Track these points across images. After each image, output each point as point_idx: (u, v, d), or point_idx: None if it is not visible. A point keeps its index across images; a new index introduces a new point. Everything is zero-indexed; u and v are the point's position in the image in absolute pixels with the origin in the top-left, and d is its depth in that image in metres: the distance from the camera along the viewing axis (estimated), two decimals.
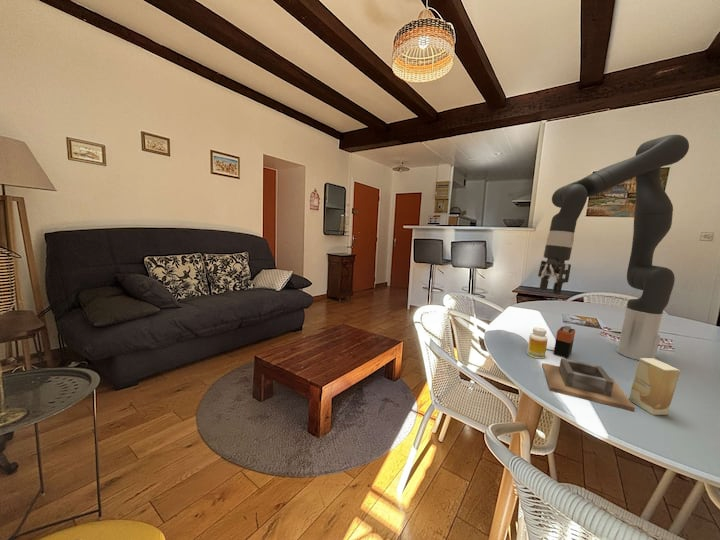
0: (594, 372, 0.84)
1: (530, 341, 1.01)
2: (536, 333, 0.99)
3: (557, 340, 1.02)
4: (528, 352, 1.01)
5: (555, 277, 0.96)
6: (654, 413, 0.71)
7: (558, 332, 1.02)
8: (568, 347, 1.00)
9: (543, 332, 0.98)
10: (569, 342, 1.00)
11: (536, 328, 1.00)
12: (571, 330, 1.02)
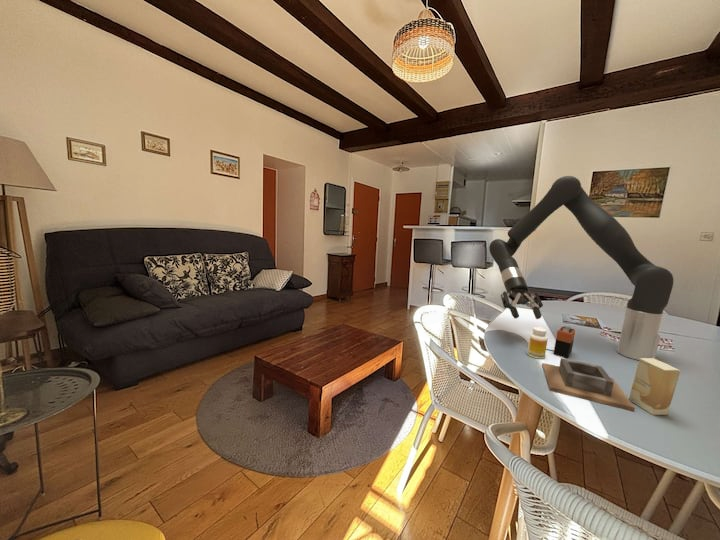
0: (594, 372, 0.84)
1: (530, 341, 1.01)
2: (536, 333, 0.99)
3: (557, 340, 1.02)
4: (528, 352, 1.01)
5: None
6: (654, 413, 0.71)
7: (558, 332, 1.02)
8: (568, 347, 1.00)
9: (543, 332, 0.98)
10: (569, 342, 1.00)
11: (536, 328, 1.00)
12: (571, 330, 1.02)
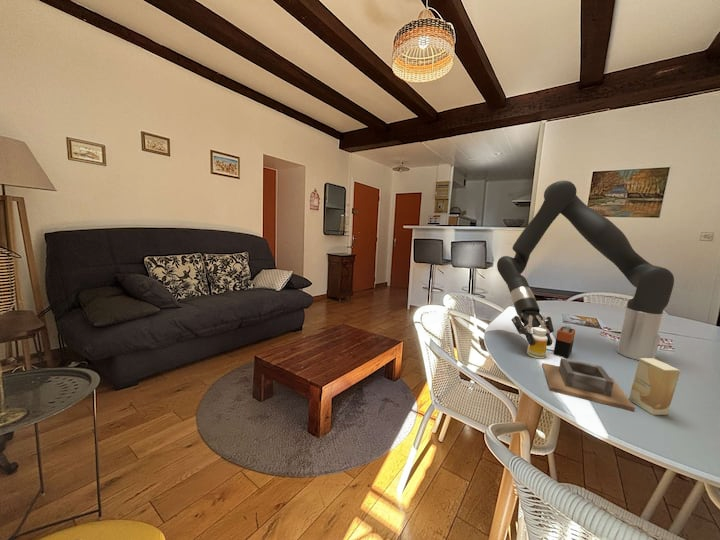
0: (594, 372, 0.84)
1: None
2: (536, 333, 0.99)
3: (557, 340, 1.02)
4: (528, 352, 1.01)
5: None
6: (654, 413, 0.71)
7: (558, 332, 1.02)
8: (568, 347, 1.00)
9: (543, 332, 0.98)
10: (569, 342, 1.00)
11: (536, 328, 1.00)
12: (571, 330, 1.02)
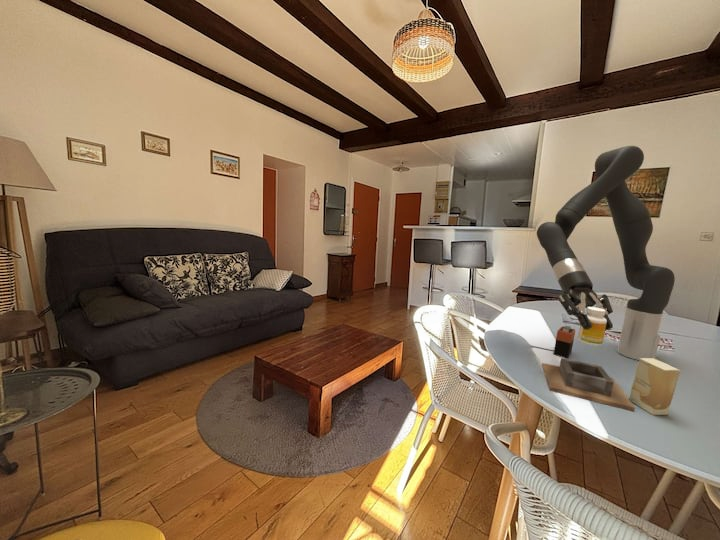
0: (594, 372, 0.84)
1: None
2: (592, 314, 0.79)
3: (557, 340, 1.02)
4: (580, 338, 0.81)
5: None
6: (654, 413, 0.71)
7: (558, 332, 1.02)
8: (568, 347, 1.00)
9: (602, 312, 0.78)
10: (569, 342, 0.99)
11: (591, 308, 0.80)
12: (571, 330, 1.02)
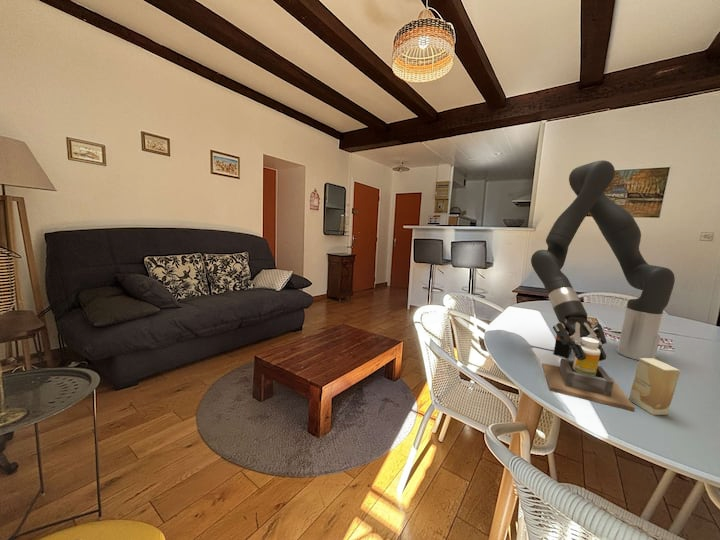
0: None
1: None
2: (586, 345, 0.80)
3: (557, 340, 1.02)
4: (575, 368, 0.82)
5: None
6: (654, 413, 0.71)
7: None
8: (568, 347, 1.00)
9: (596, 344, 0.79)
10: None
11: (585, 338, 0.81)
12: None
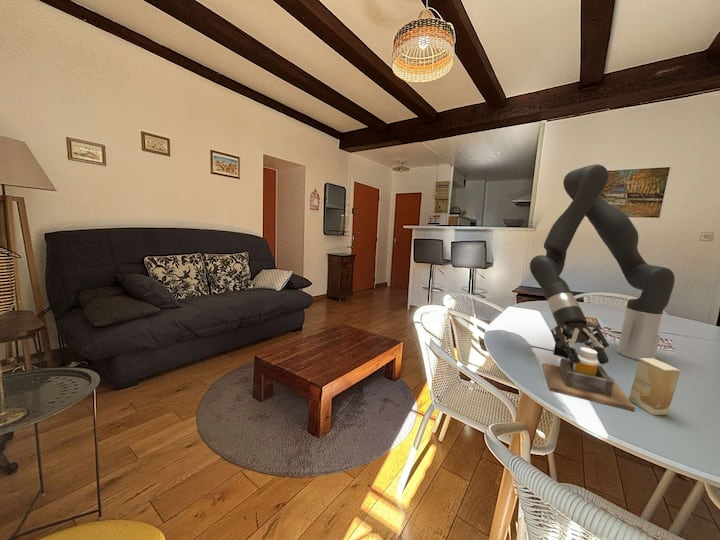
0: None
1: (576, 364, 0.82)
2: (584, 355, 0.81)
3: None
4: None
5: None
6: (654, 413, 0.71)
7: None
8: None
9: (594, 354, 0.80)
10: None
11: (584, 349, 0.82)
12: None
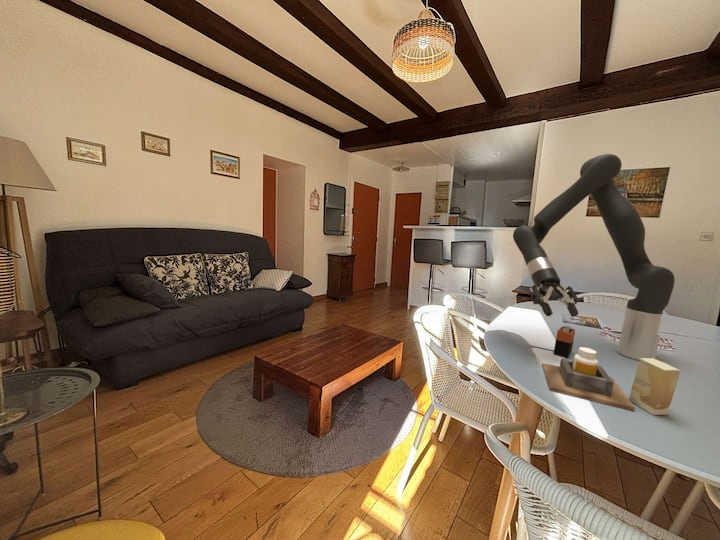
0: None
1: (576, 365, 0.82)
2: (584, 355, 0.81)
3: (557, 340, 1.02)
4: None
5: None
6: (654, 413, 0.71)
7: (558, 332, 1.02)
8: (568, 347, 1.00)
9: (593, 354, 0.80)
10: (569, 342, 0.99)
11: (583, 349, 0.82)
12: (571, 330, 1.02)
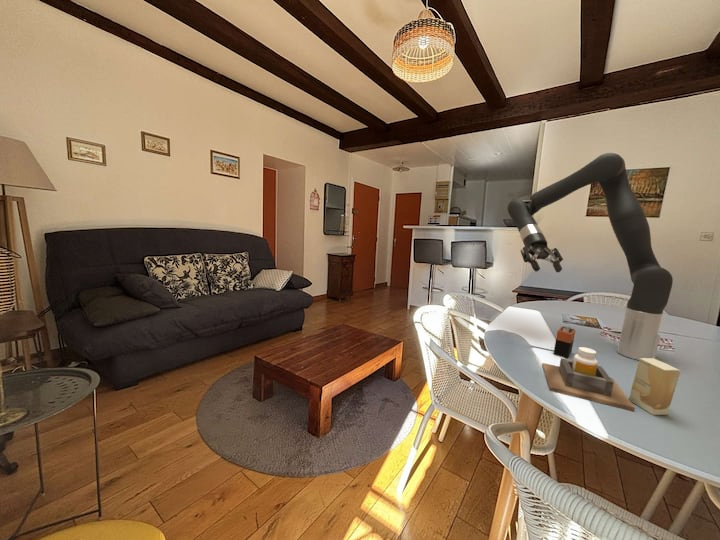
0: None
1: (576, 365, 0.82)
2: (584, 355, 0.81)
3: (557, 340, 1.02)
4: None
5: None
6: (654, 413, 0.71)
7: (558, 332, 1.02)
8: (568, 347, 1.00)
9: (593, 354, 0.80)
10: (569, 342, 1.00)
11: (583, 349, 0.82)
12: (571, 330, 1.02)
